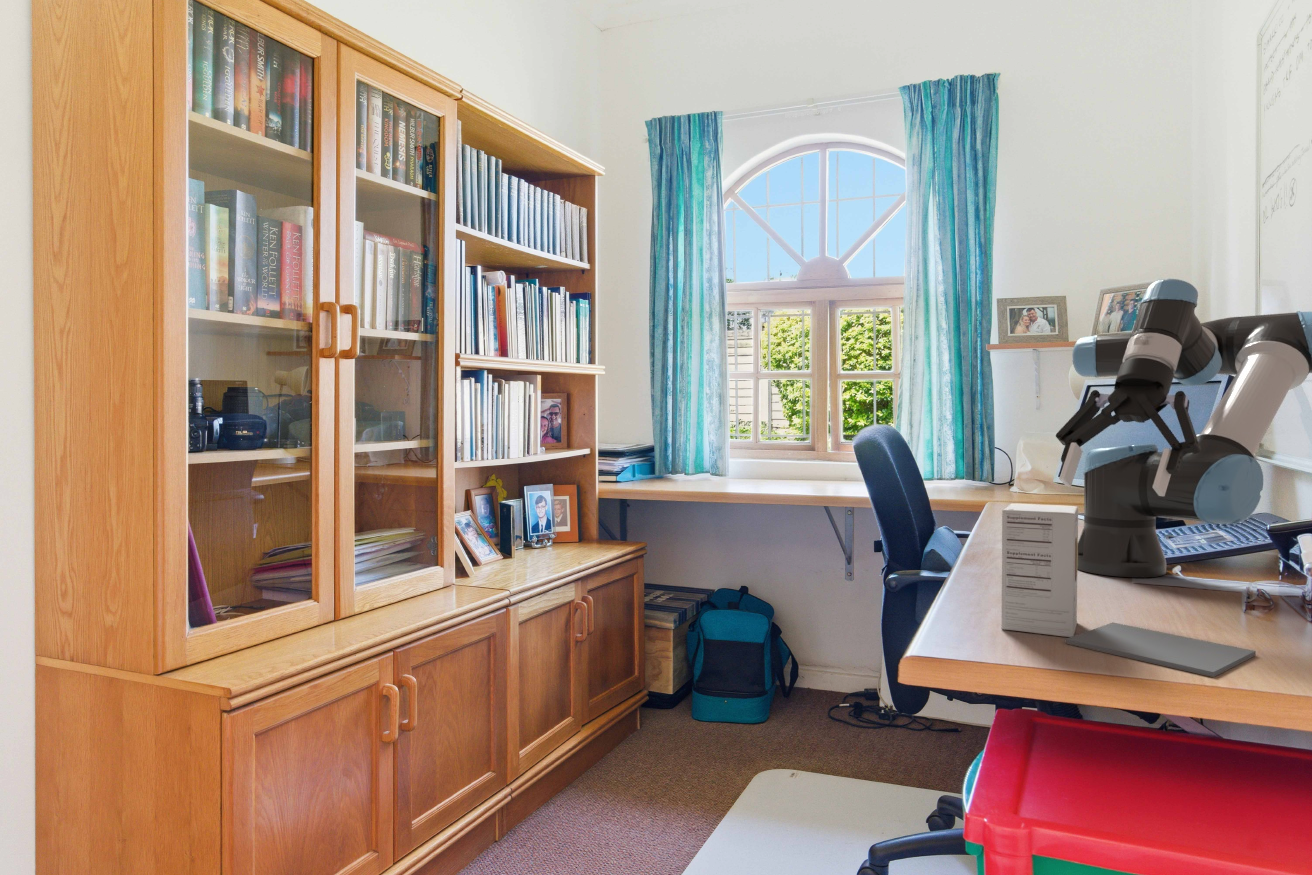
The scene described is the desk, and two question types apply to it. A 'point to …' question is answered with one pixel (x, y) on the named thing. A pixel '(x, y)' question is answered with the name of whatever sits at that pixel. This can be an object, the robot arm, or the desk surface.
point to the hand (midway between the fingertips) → (1109, 487)
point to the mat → (1163, 648)
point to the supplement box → (1040, 568)
